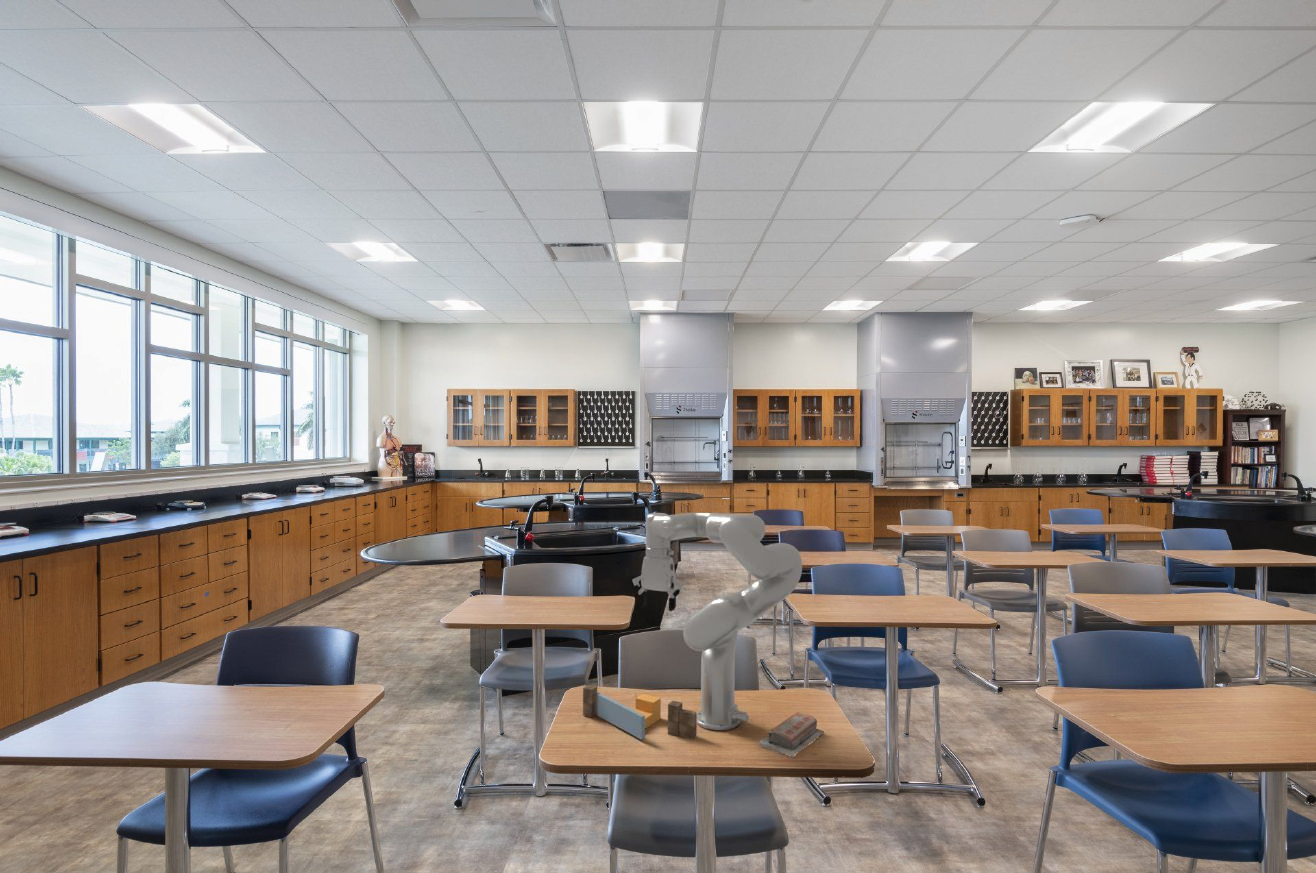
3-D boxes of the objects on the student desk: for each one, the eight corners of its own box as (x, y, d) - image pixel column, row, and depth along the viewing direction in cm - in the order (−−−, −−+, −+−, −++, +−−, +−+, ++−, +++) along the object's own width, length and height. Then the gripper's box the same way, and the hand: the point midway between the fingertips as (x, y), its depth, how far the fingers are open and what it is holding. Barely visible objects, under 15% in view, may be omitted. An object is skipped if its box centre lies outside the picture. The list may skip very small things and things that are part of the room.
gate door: (595, 714, 183) (595, 693, 183) (598, 712, 184) (598, 692, 184) (641, 739, 167) (641, 716, 167) (644, 738, 168) (644, 715, 168)
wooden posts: (697, 734, 171) (697, 705, 172) (693, 739, 169) (693, 709, 169) (588, 711, 186) (588, 684, 186) (582, 715, 184) (583, 687, 184)
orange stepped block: (643, 714, 185) (643, 693, 185) (660, 718, 182) (660, 697, 182) (621, 728, 176) (621, 706, 176) (639, 733, 173) (639, 711, 173)
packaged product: (791, 707, 179) (824, 717, 173) (791, 725, 179) (824, 735, 172) (758, 729, 165) (793, 740, 159) (758, 747, 165) (793, 760, 159)
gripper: (688, 553, 196) (688, 608, 195) (638, 549, 203) (638, 602, 203) (678, 557, 189) (678, 614, 188) (627, 552, 196) (627, 608, 196)
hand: (657, 608), depth 196 cm, fingers open, 9 cm apart
